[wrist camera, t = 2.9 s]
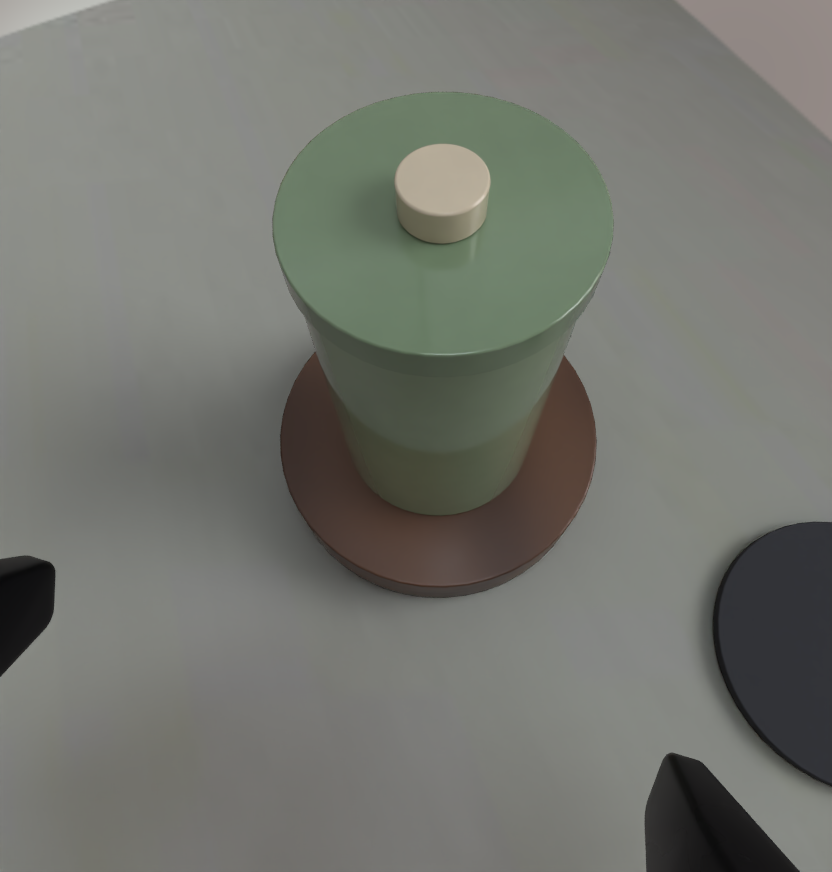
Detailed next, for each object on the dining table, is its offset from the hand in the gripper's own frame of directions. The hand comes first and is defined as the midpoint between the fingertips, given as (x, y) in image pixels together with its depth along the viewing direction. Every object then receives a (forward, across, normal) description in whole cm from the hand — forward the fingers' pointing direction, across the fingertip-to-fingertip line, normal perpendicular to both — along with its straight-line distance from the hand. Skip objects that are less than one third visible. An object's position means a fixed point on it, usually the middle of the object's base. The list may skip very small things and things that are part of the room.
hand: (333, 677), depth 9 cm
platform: (+15, +1, +1) cm, 15 cm away
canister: (+14, +1, 0) cm, 14 cm away
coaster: (+13, -14, +4) cm, 19 cm away
